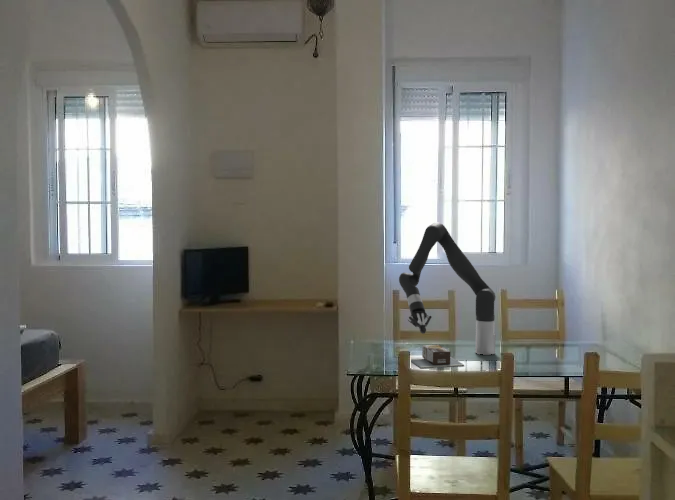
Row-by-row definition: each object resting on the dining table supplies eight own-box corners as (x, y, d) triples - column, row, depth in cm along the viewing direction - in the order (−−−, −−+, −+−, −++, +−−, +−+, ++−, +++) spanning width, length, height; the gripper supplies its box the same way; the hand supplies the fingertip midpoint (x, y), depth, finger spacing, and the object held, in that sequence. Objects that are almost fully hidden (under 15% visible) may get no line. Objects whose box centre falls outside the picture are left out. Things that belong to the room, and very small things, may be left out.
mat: (451, 358, 384) (451, 357, 384) (464, 366, 369) (464, 364, 369) (409, 360, 379) (409, 359, 379) (420, 368, 364) (420, 367, 363)
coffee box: (422, 357, 383) (432, 365, 367) (422, 344, 382) (432, 352, 367) (439, 357, 385) (450, 364, 369) (439, 344, 384) (450, 351, 368)
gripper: (405, 301, 399) (413, 329, 388) (429, 300, 402) (438, 328, 391) (402, 309, 404) (409, 337, 394) (425, 308, 408) (433, 336, 397)
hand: (423, 332), depth 392 cm, fingers closed
